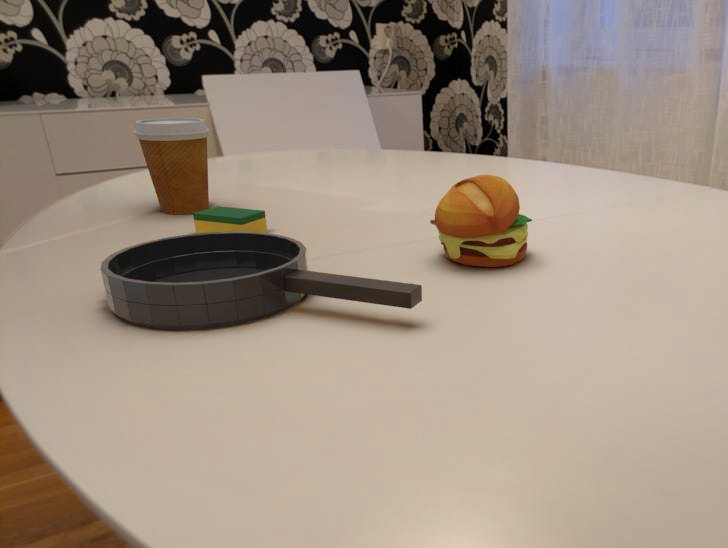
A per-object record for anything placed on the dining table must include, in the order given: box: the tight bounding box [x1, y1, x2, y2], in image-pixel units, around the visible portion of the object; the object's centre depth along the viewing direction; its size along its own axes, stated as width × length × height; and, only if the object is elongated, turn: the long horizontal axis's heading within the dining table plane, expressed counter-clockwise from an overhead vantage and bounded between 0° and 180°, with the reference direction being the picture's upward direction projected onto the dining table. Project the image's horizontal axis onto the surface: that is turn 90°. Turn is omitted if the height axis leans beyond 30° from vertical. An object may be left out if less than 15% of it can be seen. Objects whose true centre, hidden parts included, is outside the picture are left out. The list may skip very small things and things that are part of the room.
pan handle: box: [283, 270, 423, 310], centre depth 57 cm, size 12×2×1 cm, turn 70°
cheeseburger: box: [429, 174, 533, 268], centre depth 73 cm, size 10×11×10 cm
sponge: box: [192, 205, 268, 234], centre depth 82 cm, size 7×4×3 cm, turn 70°
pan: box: [99, 232, 310, 331], centre depth 61 cm, size 17×17×4 cm
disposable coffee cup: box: [133, 117, 210, 215], centre depth 93 cm, size 10×10×12 cm
